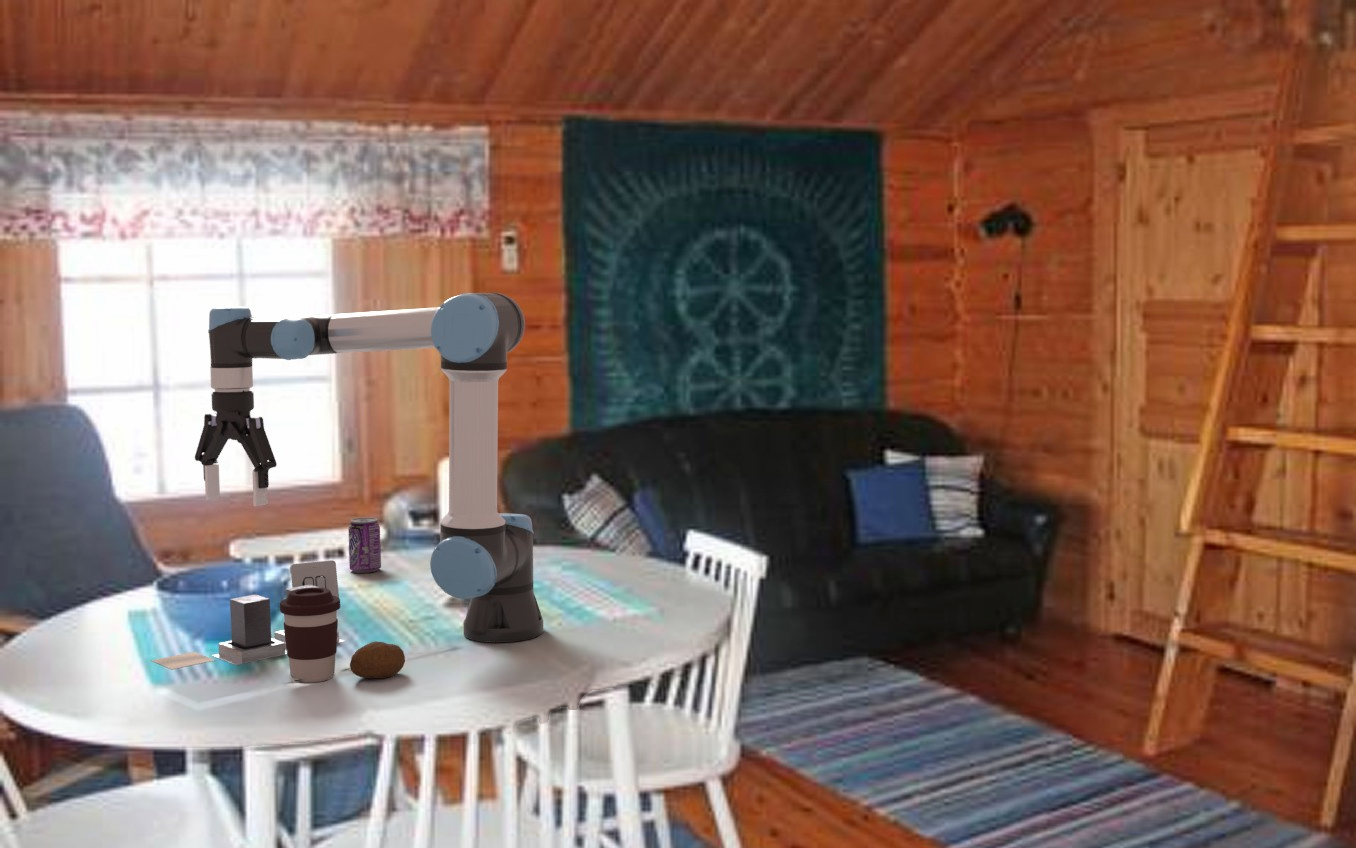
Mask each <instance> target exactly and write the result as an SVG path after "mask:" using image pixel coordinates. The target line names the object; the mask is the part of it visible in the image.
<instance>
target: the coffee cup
mask: <svg viewBox="0 0 1356 848" xmlns="http://www.w3.org/2000/svg"><path fill="white" fill-rule="evenodd" d="M340 608H341V599H340V597H339V598H338V597H336V596H333V595H332V593H331V591H330V590H329V589H327V588H320V587H311V588H301V589H296V590H293V591H291V592H290V593H289V595H288V597H287V598H286V597H285V599H282V600H281V601H280V602H279V611H280V613H281V614H283V619H284V622H283V630H284V632H285V641H286V650H287V654H286V656H287V657H288V663H289V664H288V665H289V674H290V676H292V677H293V678H297V679H294V680H293V681H294V682H297V683H302V684H311V683H313V684H314V683H322V682H325V681H328V680H330V679H333V677H334V676H335V674H336V673H335V671H336V669H335V668H336V653H337V649H338V643H337V631H338V625H339V623H338V622H339V621H338V617H337V614H338V613H337V612H338V611H339V609H340Z"/></svg>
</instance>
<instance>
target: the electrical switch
mask: <svg viewBox="0 0 1356 848" xmlns="http://www.w3.org/2000/svg"><path fill="white" fill-rule="evenodd" d="M289 572H290V573H289V574H290V575H291V577H290V578H291V588H294V587H300V586H305V585H313V586H316V587H320V588H327V589H329V590H330V591H331V593H332V595H333V596H336V597H338V598H340V593H339V583H338V574H337V573H338V572H337V564H336V561H335V560H332V559H331V560H323V561H322V560H321V561H311V562H300V563H292V564H291V565H290V566H289Z"/></svg>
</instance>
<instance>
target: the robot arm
mask: <svg viewBox="0 0 1356 848" xmlns="http://www.w3.org/2000/svg"><path fill="white" fill-rule="evenodd" d="M252 316H253V315H252V311H251V309H250V307H247V306H217V307H213V308H211V309H210V311H209V318H208V321H209V322H208V332H207V333H208V339H209V340H208V341H209V350H210V367H209V368H210V371H209V372H210V388H211V389H213V391H212V392H211V409H212V411H213V412H215V413H212V412H211V413H205V414H204V417H203V418H204V420H203V428H202V431H201V435H200V439H199V441H198V444H197V445H198V446H197V447H196V450H195V451H196V452H195V454H194V460H195V461H196V462H200V464H201V465H202V469H203V480H204V485H205V486H204V487H205V489H204V490H205V491H204V492H205V500H207V501H210V500H215V499H217V500H218V499H220V498H221V490H220V489H221V487H220V465H219V464H218V463H219V462H218V458H219V456H220V454H221V453H222V451H223V450H224V448H225V445H226V444H227V442H228V440H231V441H232V440H233V441H236V442H237V443H238V444H240V445H241V446H242V448H243V450H244V451H245V454H246V455H247V457H248V459H249V460H250V462H251V464H252V465H253V467H254V468H253V470H252V473H251V474H252V495H253V496H252V497H253V498H252V500H253V501H252V502H253V507H260V506H266V505H269V501H268V495H269V494H268V488H269V484H270V482H269V470H270V469H272V468H276V467H277V466H278V465H277V463H278V462H277V461H276V458H275V455H274V453H273V449H272V447H271V444H270V441H269V439H268V436H267V432H266V430H265V426H264V418H263V417H262V416H256V417H251V411H253V410H254V408H255V400H254V398H255V396H254V391H253V390H252V388H253V387H254V376H253V359H273V360H274V359H275V360H286V361H290V360H301V359H306V358H307V357H309V356H316V355H334V354H343V353H344V354H345V353H364V352H378V351H379V352H382V351H399V350H420V349H422V350H423V349H436V350H437V352H438V353H439V355H440V370H441V371H442V372H443V374H445V376H447V378H448V380H449V403H448V404H449V407H448V408H449V412H448V413H449V421H448V422H449V424H448V425H449V426H448V427H449V429H448V431H449V433H448V434H449V437H448V438H449V440H448V451H449V452H448V453H449V455H448V457H449V458H448V462H449V463H448V512H447V514H445V516H444V517H443V518H442V519H441V520H440V526H439V528H440V529H439V531H440V532H439V533H440V535H439V536H440V537H439V538H440V539H439V540H440V542H439V543H437V545H436V546H435V547H434V549H433V551H432V553H431V556H430V562H429V563H430V565H429V566H430V568H429V569H430V573H431V576H432V578H433V580H434V582H435V583H436V585H437V586H438V587H439V588H440V589H441V590H442V591H443V592H444V593H445V594H447V595H449V596H451V597H452V598H456V599H459V600H469V604H468V607H467V612H466V615H465V619H464V621H463V635H464V637H465V638H466V639H469V640H472V641H475V642H476V641H477V642H485V643H513V642H514V643H515V642H520V641H526V640H530V639H534V638H537V637H539V636H541V635H543V633H544V618H543V615H542V614H541V610H540V607H539V604H538V601H537V599H536V596H535V592H534V589H535V588H534V535H535V534H534V533H535V532H534V531H533V522H532V518H531V517H530V516H529V515H527V514H521V513H507V512H506V513H505V512H504V513H502V512H501V513H499V512H498V453H499V452H498V451H499V450H498V449H499V447H498V445H499V443H498V441H499V439H498V438H499V435H498V434H499V433H498V432H499V431H498V430H499V429H498V428H499V425H498V423H499V379H500V378H501V377H502V376H503V375H504V374H505V373H506V372H507V370H508V353H510V352H512V351H513V350H515V348H516V347H517V346H519V344H520V342H521V341H522V339H523V337H524V334H525V329H526V321H525V315H524V313H523V310H522V308H521V307H520V305H519V304H518V303H517V302H516V300H514V299H513V298H512V297H509V296H508V295H506V294H504V293H500V292H477V293H476V292H475V293H473V292H469V293H461V294H458V295H454V296H452V297H450V298H448V299H447V300H445V301H444V302H443V303H442V304H440V306H436V307H425V308H408V309H407V308H406V309H392V310H380V311H379V310H378V311H377V310H376V311H364V312H348V313H336V314H313V315H303V316H289V317H288V316H287V317H265V318H263V317H260V318H259V317H252Z"/></svg>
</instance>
